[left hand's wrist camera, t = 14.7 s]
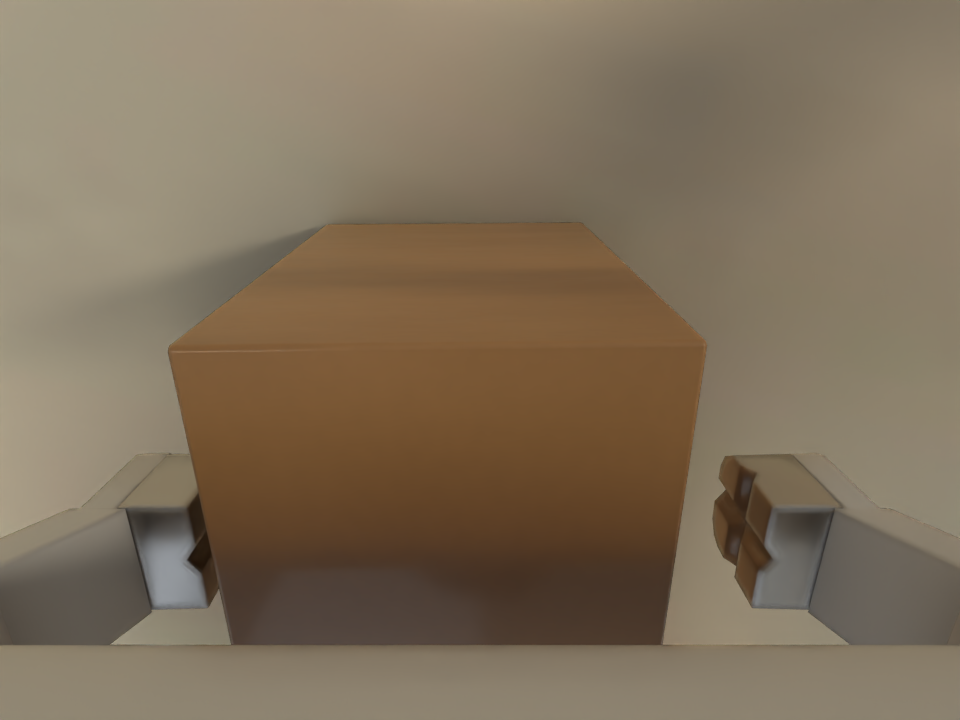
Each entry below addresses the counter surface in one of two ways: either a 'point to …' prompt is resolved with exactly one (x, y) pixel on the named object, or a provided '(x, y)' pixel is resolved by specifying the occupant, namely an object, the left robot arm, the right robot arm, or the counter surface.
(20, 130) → the counter surface
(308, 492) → the bar
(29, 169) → the counter surface
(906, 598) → the left robot arm
